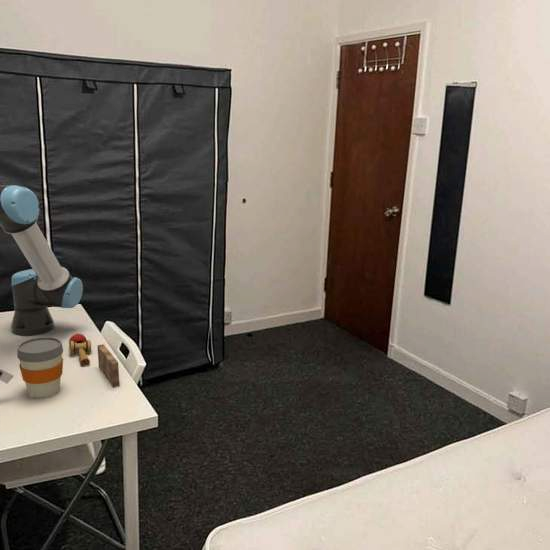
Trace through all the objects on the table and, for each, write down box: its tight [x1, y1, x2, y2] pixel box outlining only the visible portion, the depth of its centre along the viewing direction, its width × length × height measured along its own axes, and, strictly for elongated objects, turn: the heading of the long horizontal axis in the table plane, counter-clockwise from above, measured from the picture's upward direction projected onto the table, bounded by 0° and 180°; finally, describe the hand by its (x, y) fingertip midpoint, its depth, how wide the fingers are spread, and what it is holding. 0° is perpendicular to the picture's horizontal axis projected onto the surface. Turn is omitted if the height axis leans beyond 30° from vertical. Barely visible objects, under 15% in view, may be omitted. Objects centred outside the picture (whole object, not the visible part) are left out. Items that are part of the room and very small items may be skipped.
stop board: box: [96, 343, 120, 388], centre depth 175 cm, size 16×2×8 cm, turn 32°
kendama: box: [68, 333, 92, 367], centre depth 190 cm, size 8×6×18 cm
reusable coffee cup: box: [16, 336, 64, 399], centre depth 164 cm, size 13×13×15 cm
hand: (10, 379), depth 159 cm, fingers closed
